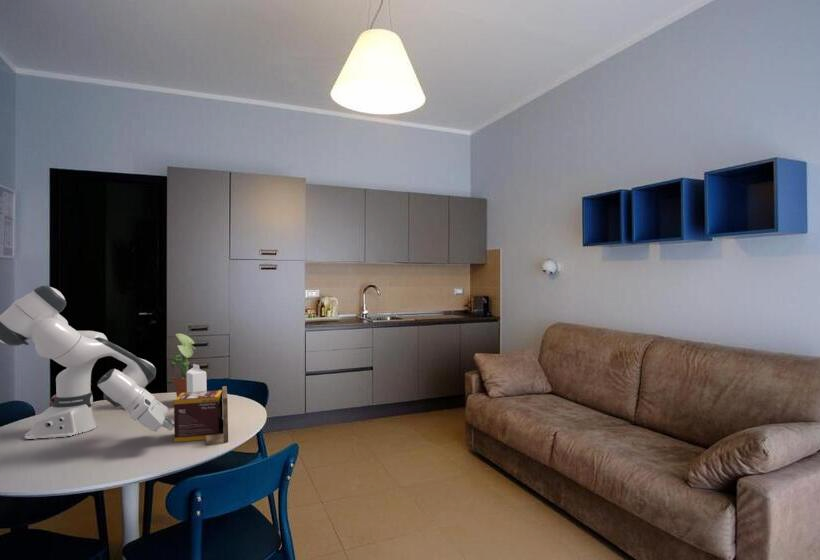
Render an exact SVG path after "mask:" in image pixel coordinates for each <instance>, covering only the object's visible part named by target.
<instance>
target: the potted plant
mask: <svg viewBox="0 0 820 560" xmlns="http://www.w3.org/2000/svg"><path fill="white" fill-rule="evenodd" d="M175 336H176V338H178V339H177V340H179V342H180V343H181V345H179V344H177V348H178V350H179V352H180V354H175V355H174V356H173V359H172V360H173V361H171V362H170V366H171V368H174V367H175V365H176V366H177V367H178V368H179V370H180V371H181V374H177V375H173V376H172V385H174V387H175V393H176V398H177V397H178V396H179V395H180V394H181V393H187V376H186V372H187V371H189V365H190V363H191V361H188V358H191V357H192V356H193V355H195V353H194V350H196V347H195V346H194V344H195V341H194V340H193V338H192V337H190V336H188V335H186V334H183V333H181V332H180V333H175Z"/></svg>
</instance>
